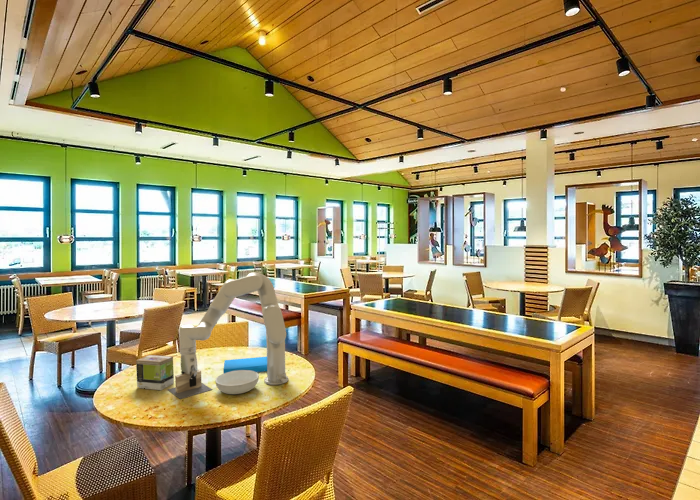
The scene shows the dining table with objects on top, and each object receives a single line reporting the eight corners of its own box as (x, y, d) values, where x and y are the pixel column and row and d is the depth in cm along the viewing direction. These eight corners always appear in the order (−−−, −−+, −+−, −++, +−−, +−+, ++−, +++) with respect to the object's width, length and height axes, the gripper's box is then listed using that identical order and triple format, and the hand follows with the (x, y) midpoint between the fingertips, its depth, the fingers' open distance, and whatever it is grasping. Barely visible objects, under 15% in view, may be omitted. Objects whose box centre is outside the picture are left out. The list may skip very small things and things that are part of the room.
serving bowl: (214, 386, 209) (214, 373, 209) (256, 380, 216) (255, 367, 216) (216, 402, 189) (216, 387, 189) (261, 395, 197) (261, 381, 196)
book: (224, 360, 240) (267, 355, 247) (224, 367, 240) (267, 362, 247) (223, 369, 224) (269, 364, 230) (223, 377, 224) (269, 372, 230)
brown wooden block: (201, 386, 207) (201, 371, 207) (177, 393, 199) (177, 377, 198) (199, 385, 209) (198, 369, 209) (175, 391, 201) (175, 375, 200)
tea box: (174, 383, 213) (173, 356, 212) (160, 391, 203) (159, 362, 202) (150, 381, 217) (149, 354, 216) (136, 388, 207) (135, 359, 206)
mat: (212, 390, 203) (212, 389, 203) (180, 399, 192) (180, 398, 192) (198, 382, 215) (198, 381, 215) (167, 390, 203) (167, 389, 203)
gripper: (202, 351, 199) (203, 386, 200) (188, 345, 212) (189, 377, 213) (187, 355, 194) (188, 390, 195) (173, 348, 207) (174, 381, 207)
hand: (188, 383), depth 204 cm, fingers open, 9 cm apart
